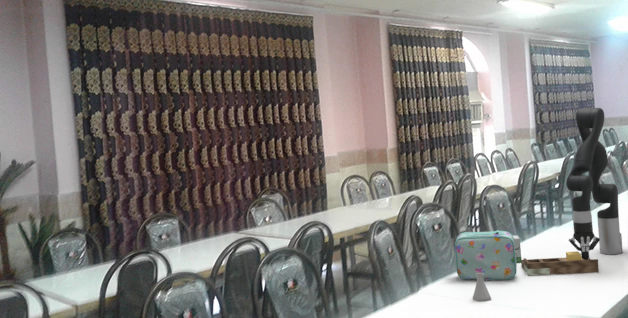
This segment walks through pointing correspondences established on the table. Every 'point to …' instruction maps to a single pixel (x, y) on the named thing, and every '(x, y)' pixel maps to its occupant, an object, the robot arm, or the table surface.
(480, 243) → the lunch box
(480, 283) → the flask
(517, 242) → the ink box
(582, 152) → the robot arm
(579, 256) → the block
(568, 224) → the table surface
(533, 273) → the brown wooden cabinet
